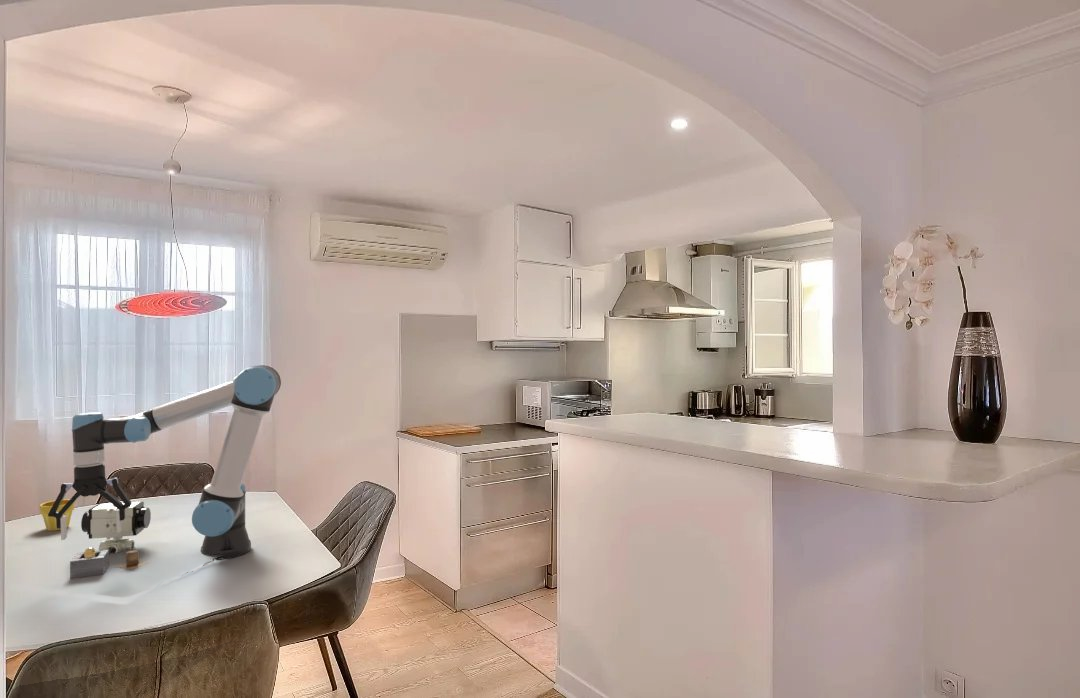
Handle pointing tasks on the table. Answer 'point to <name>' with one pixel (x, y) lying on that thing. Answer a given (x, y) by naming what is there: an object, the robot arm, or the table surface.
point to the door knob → (89, 553)
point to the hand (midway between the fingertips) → (92, 535)
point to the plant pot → (46, 507)
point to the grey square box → (89, 564)
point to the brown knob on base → (132, 560)
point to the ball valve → (115, 525)
